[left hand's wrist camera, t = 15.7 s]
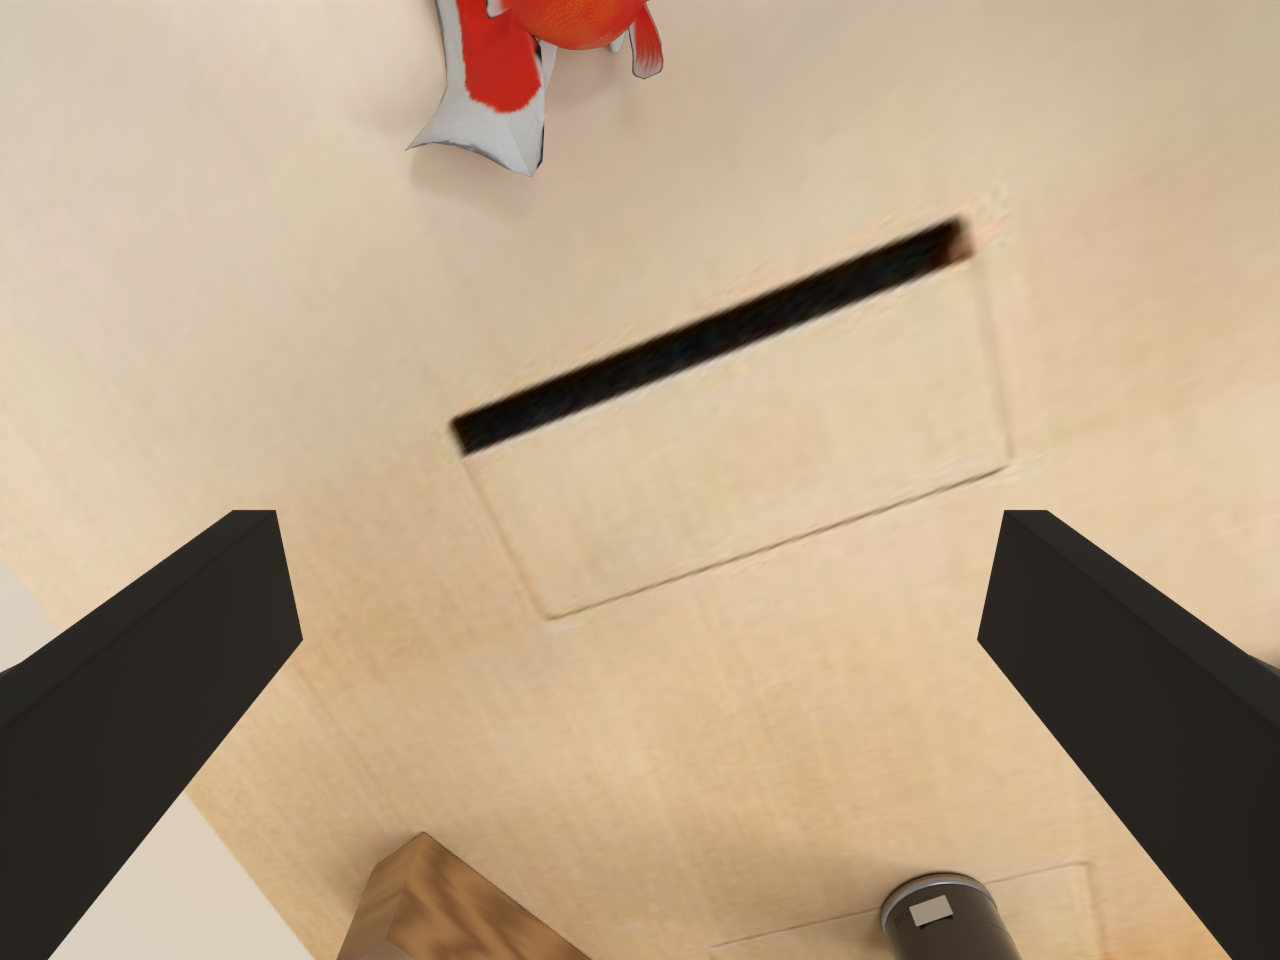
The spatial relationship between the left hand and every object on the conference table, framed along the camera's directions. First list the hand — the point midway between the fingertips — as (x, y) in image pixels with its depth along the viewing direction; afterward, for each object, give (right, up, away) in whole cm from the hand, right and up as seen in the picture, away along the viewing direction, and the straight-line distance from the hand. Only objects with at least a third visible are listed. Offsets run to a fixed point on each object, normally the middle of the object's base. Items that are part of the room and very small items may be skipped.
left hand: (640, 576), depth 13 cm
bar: (-12, -36, +45) cm, 59 cm away
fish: (-5, +23, +22) cm, 33 cm away
